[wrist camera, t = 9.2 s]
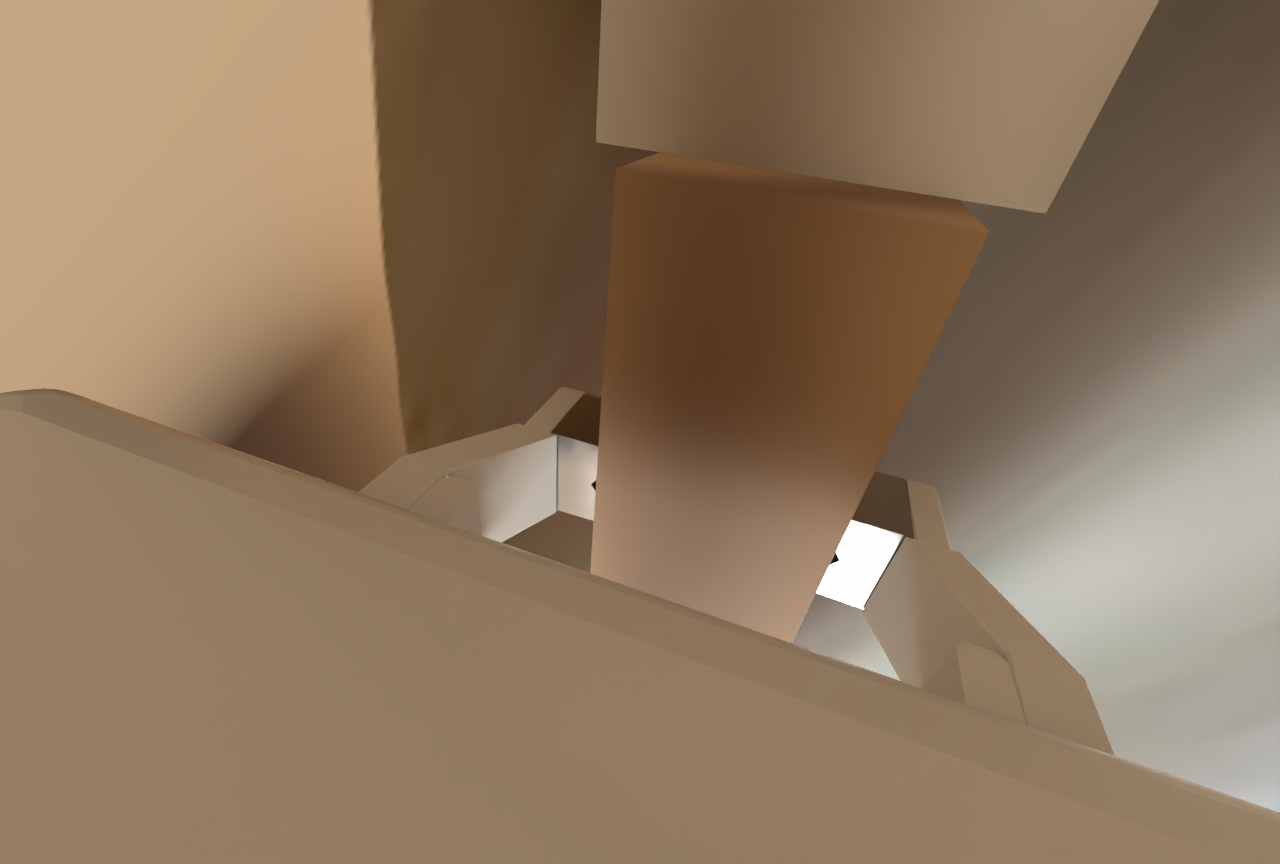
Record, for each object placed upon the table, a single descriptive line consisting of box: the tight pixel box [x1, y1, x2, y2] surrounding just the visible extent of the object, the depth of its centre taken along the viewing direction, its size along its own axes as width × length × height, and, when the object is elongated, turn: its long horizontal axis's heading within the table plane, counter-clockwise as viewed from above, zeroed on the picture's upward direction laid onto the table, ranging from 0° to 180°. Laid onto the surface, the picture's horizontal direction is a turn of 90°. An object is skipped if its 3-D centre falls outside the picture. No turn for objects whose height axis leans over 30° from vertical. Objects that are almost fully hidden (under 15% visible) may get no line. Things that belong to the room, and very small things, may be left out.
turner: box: [590, 0, 1159, 643], centre depth 8 cm, size 6×17×3 cm, turn 174°
